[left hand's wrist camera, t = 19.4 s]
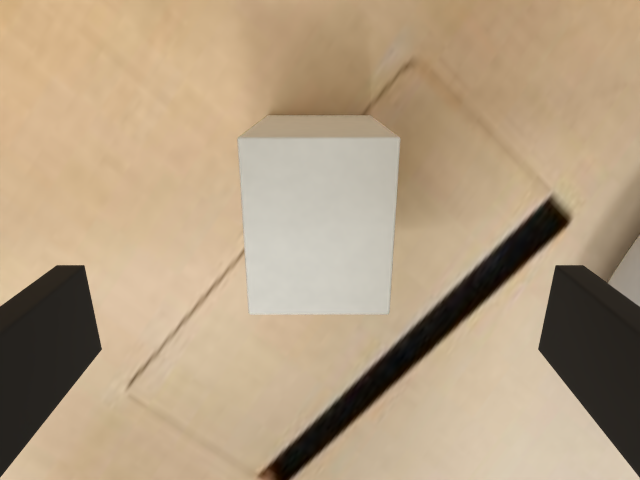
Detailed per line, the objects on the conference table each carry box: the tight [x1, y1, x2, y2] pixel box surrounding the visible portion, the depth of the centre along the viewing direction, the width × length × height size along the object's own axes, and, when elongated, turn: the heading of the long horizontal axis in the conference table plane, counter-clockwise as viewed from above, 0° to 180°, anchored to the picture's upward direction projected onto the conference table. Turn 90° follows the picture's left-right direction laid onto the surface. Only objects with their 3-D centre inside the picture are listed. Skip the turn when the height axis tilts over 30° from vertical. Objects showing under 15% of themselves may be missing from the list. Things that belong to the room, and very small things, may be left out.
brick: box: [237, 115, 400, 314], centre depth 24 cm, size 6×8×10 cm
